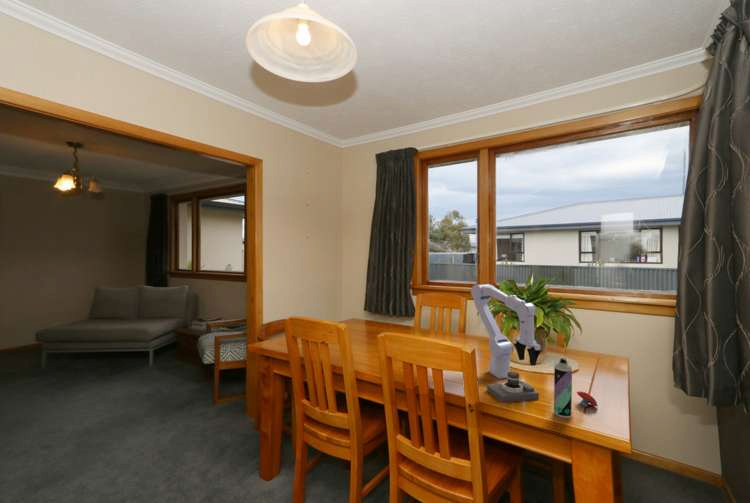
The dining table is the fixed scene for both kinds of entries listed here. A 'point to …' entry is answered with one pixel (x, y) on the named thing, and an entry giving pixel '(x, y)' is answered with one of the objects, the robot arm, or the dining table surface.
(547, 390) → the dining table surface
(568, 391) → the spray can
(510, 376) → the lens
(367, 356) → the dining table surface
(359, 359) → the dining table surface
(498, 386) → the camera body
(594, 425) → the dining table surface
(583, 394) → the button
